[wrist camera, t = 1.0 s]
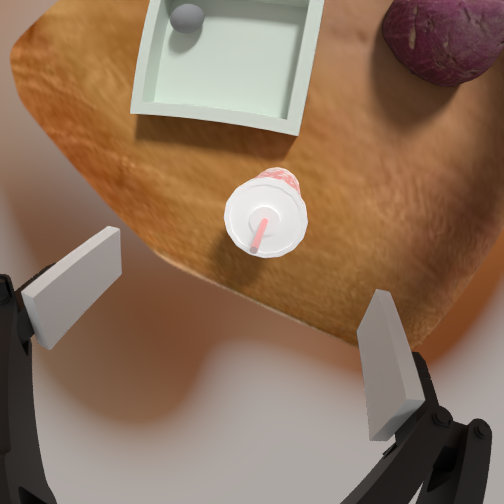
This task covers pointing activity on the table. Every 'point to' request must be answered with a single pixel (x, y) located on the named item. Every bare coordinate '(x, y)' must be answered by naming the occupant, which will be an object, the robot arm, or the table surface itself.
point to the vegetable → (445, 37)
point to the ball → (187, 18)
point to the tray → (229, 62)
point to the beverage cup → (267, 214)
